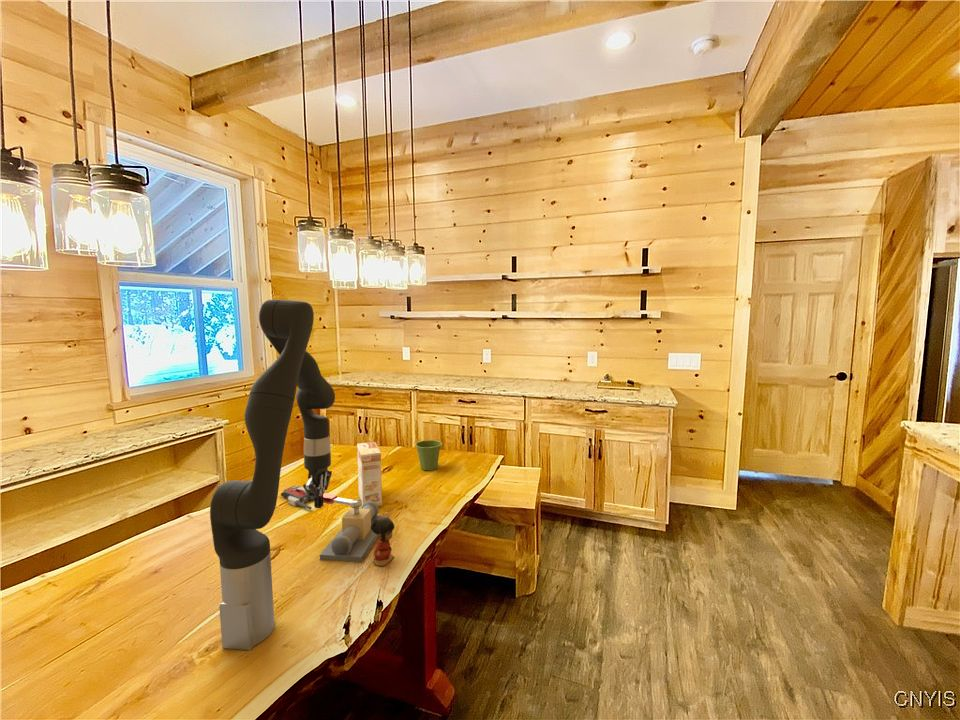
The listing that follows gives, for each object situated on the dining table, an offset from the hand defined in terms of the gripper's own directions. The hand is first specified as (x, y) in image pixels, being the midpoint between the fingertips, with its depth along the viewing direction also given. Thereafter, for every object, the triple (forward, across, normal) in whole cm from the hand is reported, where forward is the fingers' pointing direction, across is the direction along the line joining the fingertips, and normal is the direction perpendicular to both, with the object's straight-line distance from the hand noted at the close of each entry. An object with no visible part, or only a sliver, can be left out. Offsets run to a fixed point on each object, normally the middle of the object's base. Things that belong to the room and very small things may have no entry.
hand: (319, 507), depth 126 cm
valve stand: (+10, +1, -12) cm, 15 cm away
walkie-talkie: (+10, +23, +20) cm, 32 cm away
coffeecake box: (+9, +28, -4) cm, 30 cm away
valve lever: (-1, +2, -5) cm, 6 cm away
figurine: (+10, -9, -24) cm, 27 cm away
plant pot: (+8, +62, -18) cm, 65 cm away
